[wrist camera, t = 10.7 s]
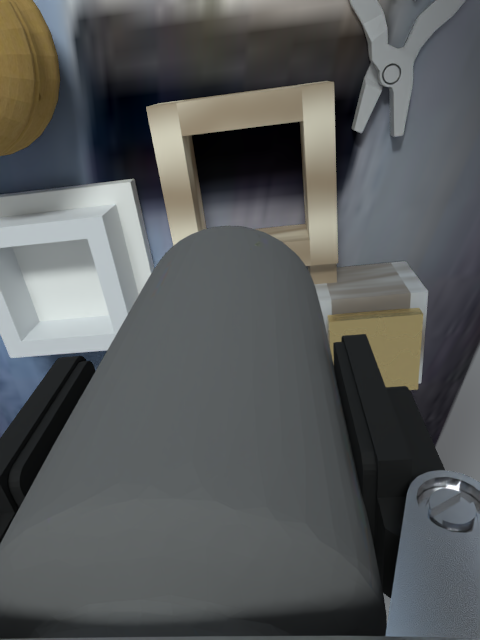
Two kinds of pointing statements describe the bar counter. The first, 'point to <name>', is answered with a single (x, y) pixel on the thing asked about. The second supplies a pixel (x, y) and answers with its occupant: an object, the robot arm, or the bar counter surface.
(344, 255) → the bar counter surface
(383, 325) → the button
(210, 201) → the bar counter surface
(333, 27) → the bar counter surface
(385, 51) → the pliers
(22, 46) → the pot
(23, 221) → the cradle
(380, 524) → the robot arm
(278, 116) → the socket block
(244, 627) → the bottle
